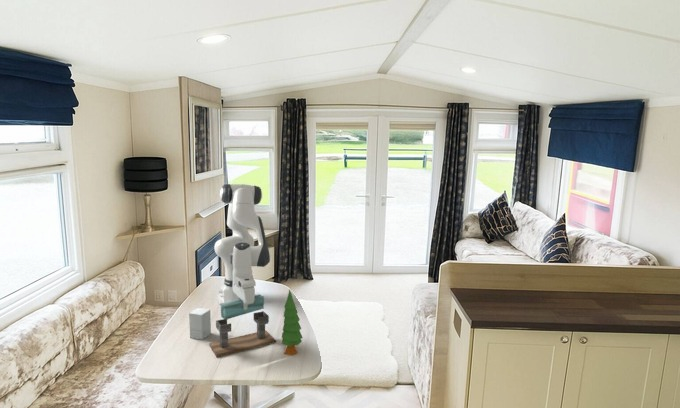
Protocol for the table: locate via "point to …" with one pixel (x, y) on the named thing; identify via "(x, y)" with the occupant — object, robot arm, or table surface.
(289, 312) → the decorative tree
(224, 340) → the bracket stand
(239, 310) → the teal rail
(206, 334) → the supplement box
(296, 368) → the table surface
